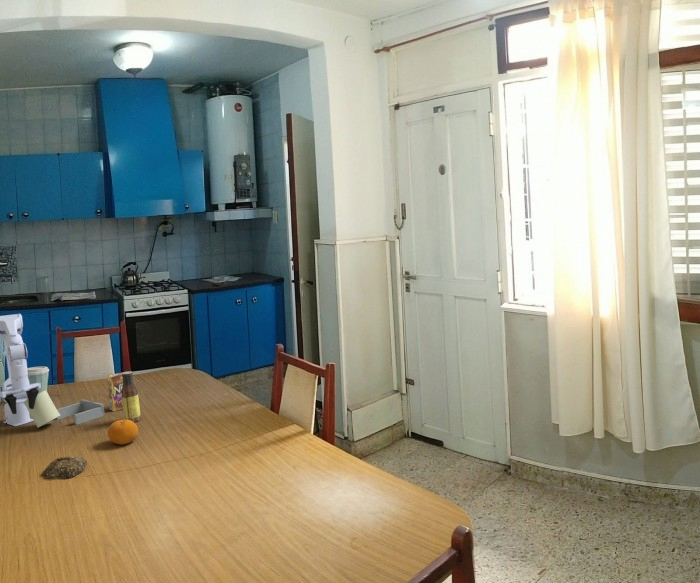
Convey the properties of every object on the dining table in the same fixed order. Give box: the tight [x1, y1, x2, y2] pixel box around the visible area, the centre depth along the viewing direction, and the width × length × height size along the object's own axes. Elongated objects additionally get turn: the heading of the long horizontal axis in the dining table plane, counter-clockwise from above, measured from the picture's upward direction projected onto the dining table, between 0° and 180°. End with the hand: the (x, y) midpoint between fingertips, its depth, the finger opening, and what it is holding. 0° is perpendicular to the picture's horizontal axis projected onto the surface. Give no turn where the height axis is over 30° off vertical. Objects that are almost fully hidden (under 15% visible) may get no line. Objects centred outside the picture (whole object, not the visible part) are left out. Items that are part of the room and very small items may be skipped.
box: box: [55, 398, 105, 426], centre depth 256 cm, size 14×13×5 cm
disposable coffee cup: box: [27, 366, 50, 394], centre depth 284 cm, size 11×11×15 cm
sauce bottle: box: [121, 371, 141, 423], centre depth 249 cm, size 7×6×20 cm
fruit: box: [107, 418, 139, 445], centre depth 226 cm, size 10×10×8 cm
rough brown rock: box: [42, 455, 88, 480], centre depth 202 cm, size 13×12×5 cm
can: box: [23, 390, 60, 428], centre depth 246 cm, size 9×9×12 cm
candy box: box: [107, 372, 123, 412], centre depth 266 cm, size 9×4×15 cm, turn 134°
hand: (23, 411), depth 237 cm, fingers open, 6 cm apart
